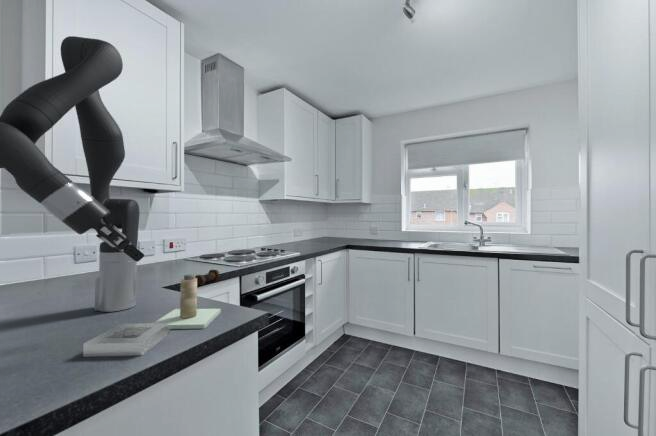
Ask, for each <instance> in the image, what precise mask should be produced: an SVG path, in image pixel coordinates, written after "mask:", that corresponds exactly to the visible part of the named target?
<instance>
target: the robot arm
mask: <svg viewBox="0 0 656 436" xmlns="http://www.w3.org/2000/svg"><path fill="white" fill-rule="evenodd" d="M60 57H61V62H62V65H63V70H64V72H63V73H60V74H58V75H55V76H52V77H50V78H48V79H47V78H46V79H44V80H42V81H39V82H38V83H35V84H33V85H31V86H30V87H28V88H27V89H25V90H24V91H23V92H21V93H20V94H18V96H17V97H15V98H14V99H12V100H11V101H10V102H9V103H8V104H7V105H6V107H4V108H3V110H2V113H1V114H0V169H4V170H5V171H6V172H8V173H10V175H12V177H13V178H14V181H15V183H16V184H17V186H18V187H19V188H20V189H21V190H22V191H23V192H24V193H26V195H28V196H29V197H31V198H32V199H34V200H35V201H36V202H37V203H38V204H40V205H41V206H42V207H44V209H46V211H47V212H49V213H50V214H51V215H53V216H54V217H55V218H57V219H58V220H59V221H60V222H62V223H63V224H64V225H66V226H67V227H68V228H70V230H71V229H72V231H74V233H76V234H78V235H83V234H85V233H87V232H88V231H89V230H91V229H93V230H95V232H96V233H97V234H96V235H95V236H96V237H97V238H98V239H99V240H100V241H102V242H100V243H99V256H98V257H99V261H98V262H99V263H98V277H95V280H94V311H99V312H104V313H105V312H107V313H109V312H118V311H124V310H128V309H132V308H133V307H135V306H136V305H137V304H136V303H137V302H136V301H137V267H138V266H137V263H138V262H140V261H141V260H142V259H143V258H144V256H145V254H144V253H143V252H142V251H141V250H140V249H138V240H139V239H138V237H139V225H140V224H139V223H140V206H139V203H138V201H137V200H136V199H132V198H111V197H110V185H111V182H112V180H113V179H114V177H115V175H116V173H118V170H119V169H120V167H121V166H122V164H123V162H124V160H125V157H126V150H125V144H124V143H125V142H124V136H123V133H122V130H121V128H120V126H119V124H118V123H117V121H116V119H115V118H114V117H113V115H112V114H111V113H110V111H109V110H108V109H107V107H106V106H105V104H104V102H103V101H102V98H101V94H100V91H99V90H100V89H102V88H103V87H105V86H107V85H109V84H110V83H112V82H113V81H115V80H117V79H118V78H119V77H120V76H121V74H122V71H123V69H124V68H123V66H124V65H123V64H124V63H123V59H122V55H121V54H120V52H119V50H118V49H117V48H116V47H115V46H114V45H113V44H111V43H110V42H108V41H105V40H102V39H99V38H90V37H82V36H74V35H73V36H72V35H71V36H66V37H65V38H63V39H62V41H61V45H60ZM74 108H75V113H76V115H77V120H78V126H79V133H80V139H81V145H82V149H83V153H84V158H85V162H86V167H87V173H88V179H89V187H90V193H89V192H88V191H87V190H86V189H84V188H82V187H81V186H79V184H76V183H75V182H73V181H72V180H71V178H69V177H68V176H66V174H64V173H63V172H62V171H60V170H59V169H58V168H56V167H55V166H54V165H53V164H52V163H51V161H50V160H49V159H48V157H47V156H46V155H45V154H44V152H42V151H41V149H40V148H39V147H38V146H37V145H36V143H37V142H38V140H39V139H40V138H41V137H42V136H44V135H45V134H46V133H47V132H48V131H50V130H51V129H52V128H53V127H54V126H55V125H56V124H57V123H58V122H59V121H60V120H61V119H62V118H63V117H64V116H66V114H67V113H69V111H71V110H72V109H74ZM120 230H121V231H120Z"/></svg>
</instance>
